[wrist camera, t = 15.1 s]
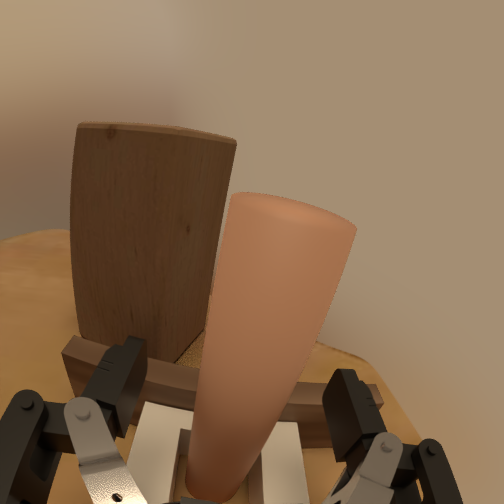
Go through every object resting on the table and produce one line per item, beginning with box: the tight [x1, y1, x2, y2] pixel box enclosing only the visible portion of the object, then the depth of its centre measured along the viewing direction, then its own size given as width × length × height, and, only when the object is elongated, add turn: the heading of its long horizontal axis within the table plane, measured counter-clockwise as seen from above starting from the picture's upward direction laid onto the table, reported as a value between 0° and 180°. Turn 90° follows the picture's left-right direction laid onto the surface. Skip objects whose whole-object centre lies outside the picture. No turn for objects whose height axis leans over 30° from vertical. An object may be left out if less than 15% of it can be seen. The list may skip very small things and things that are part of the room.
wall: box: [61, 335, 384, 448], centre depth 17 cm, size 2×22×6 cm, turn 91°
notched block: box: [126, 401, 310, 504], centre depth 13 cm, size 8×10×4 cm
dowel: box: [185, 192, 357, 503], centre depth 11 cm, size 4×4×18 cm
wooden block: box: [70, 122, 237, 363], centre depth 23 cm, size 10×10×20 cm
